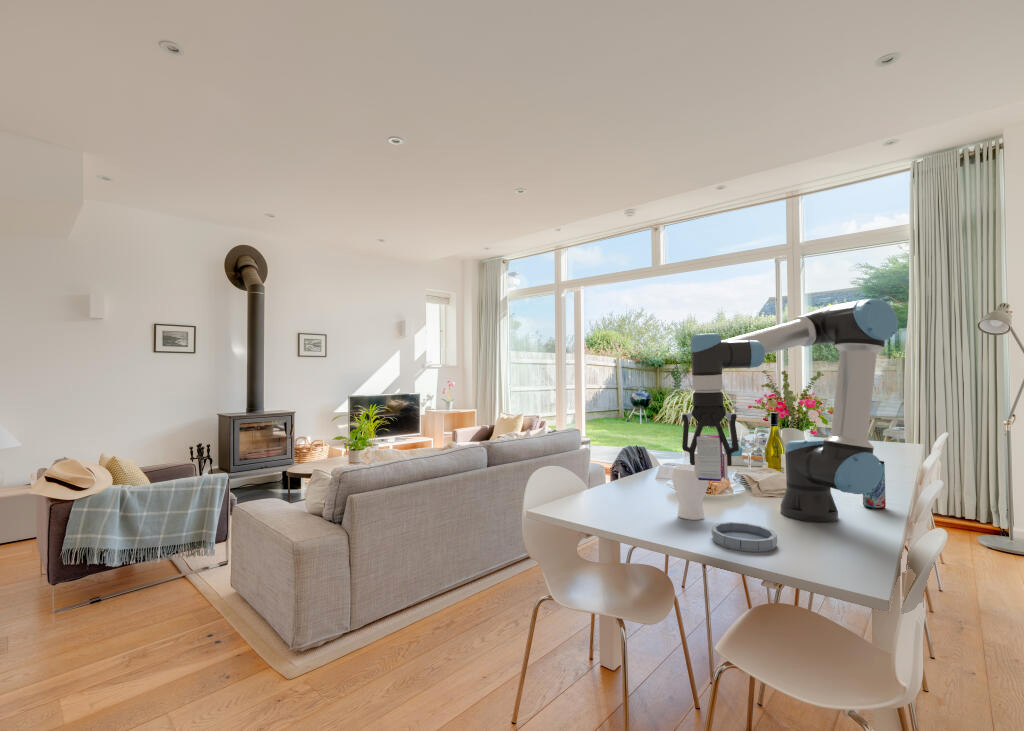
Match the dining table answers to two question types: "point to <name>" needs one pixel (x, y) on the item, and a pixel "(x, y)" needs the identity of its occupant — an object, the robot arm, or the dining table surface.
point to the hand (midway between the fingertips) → (710, 477)
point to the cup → (689, 492)
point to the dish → (744, 537)
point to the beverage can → (876, 494)
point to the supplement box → (709, 458)
